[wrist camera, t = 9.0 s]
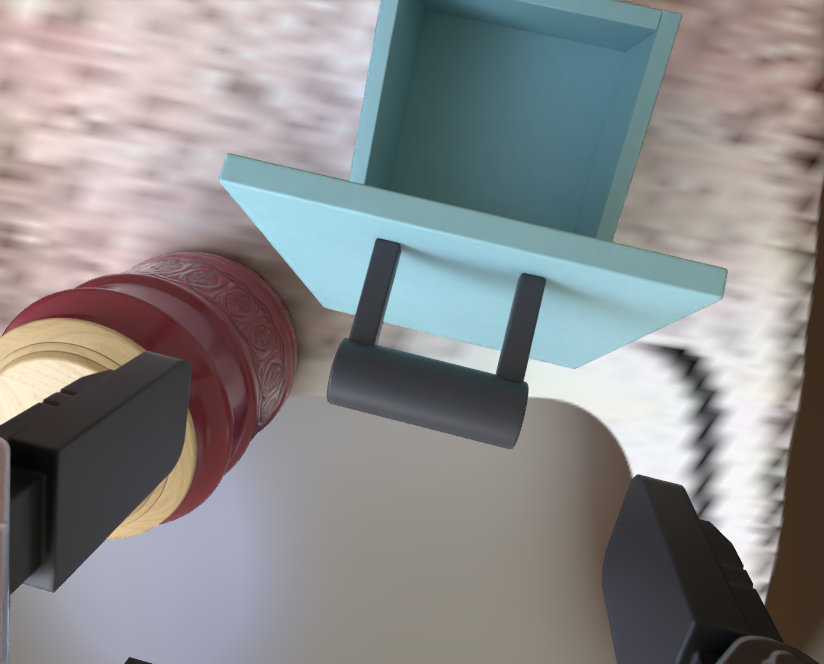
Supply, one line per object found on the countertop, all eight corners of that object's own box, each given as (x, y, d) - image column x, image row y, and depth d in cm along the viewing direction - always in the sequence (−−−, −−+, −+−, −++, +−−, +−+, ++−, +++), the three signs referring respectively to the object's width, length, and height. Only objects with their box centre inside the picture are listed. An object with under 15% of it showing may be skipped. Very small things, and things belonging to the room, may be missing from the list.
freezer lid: (226, 151, 17) (161, 359, 16) (730, 267, 16) (687, 493, 15) (327, 292, 33) (297, 398, 32) (578, 353, 32) (554, 464, 31)
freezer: (415, -7, 37) (388, -48, 28) (641, 40, 36) (682, 13, 28) (363, 264, 42) (327, 297, 33) (561, 311, 41) (576, 358, 32)
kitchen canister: (85, 286, 45) (-169, 379, 28) (251, 217, 42) (79, 274, 25) (171, 453, 47) (-12, 629, 31) (333, 400, 44) (228, 561, 28)
